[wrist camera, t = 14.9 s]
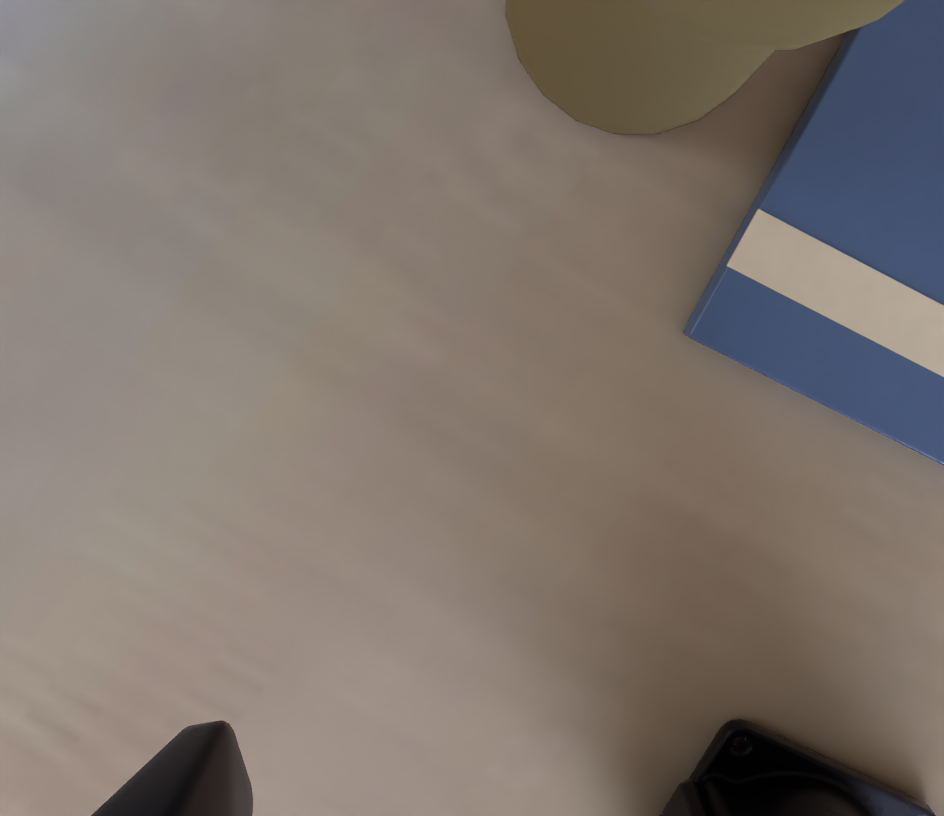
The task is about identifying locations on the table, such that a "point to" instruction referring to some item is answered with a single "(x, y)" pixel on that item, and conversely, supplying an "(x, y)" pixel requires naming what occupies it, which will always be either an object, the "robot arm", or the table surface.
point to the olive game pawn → (664, 51)
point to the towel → (851, 241)
